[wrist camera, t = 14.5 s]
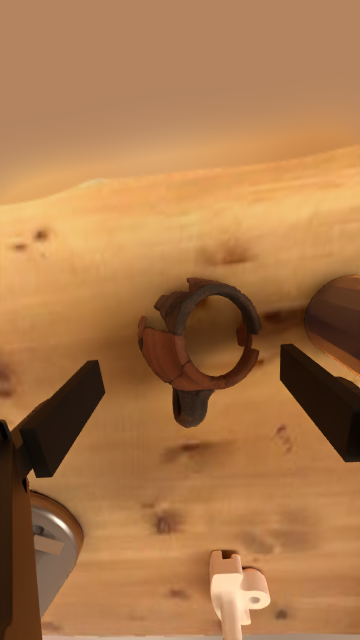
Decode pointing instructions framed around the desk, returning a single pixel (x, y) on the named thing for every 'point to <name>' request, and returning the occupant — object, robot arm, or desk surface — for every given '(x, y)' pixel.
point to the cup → (337, 321)
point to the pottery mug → (171, 354)
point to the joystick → (235, 593)
